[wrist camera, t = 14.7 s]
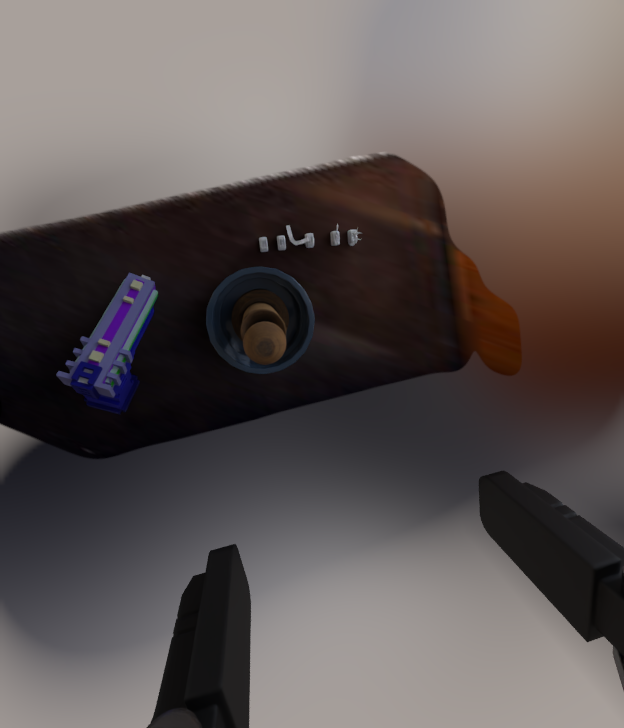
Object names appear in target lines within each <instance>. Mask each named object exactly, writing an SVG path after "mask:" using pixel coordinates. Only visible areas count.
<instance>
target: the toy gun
mask: <svg viewBox="0 0 624 728" xmlns="http://www.w3.org/2000/svg"><path fill="white" fill-rule="evenodd" d="M157 297H158V291H156V289H155V282H153V281H151V279H150V277H147V276H144V275H142V276H141V277H140V276H137V275H134V274H132V273H129V274H128V276H127V278H126V279H124V281H123V282H122V284H121V286H120V287H119V289H118V291H117V292H116V294H115V296H114V297H113V299H112V301H111V302H110V304H109V306H108V307H107V309H106V311H105V312H104V314H103V316H102V318H101V319H100V321H99V323H98V324H97V326H96V328H95V329H94V331H93V333H92V334H91V336H90V338H86V337H83V336H82V337H81V339H80V341H81V343H82V344H83V346H84V348H83V349H82V350H81V349H77V348H75V349H74V351H73V353H74V354H75V356H76V357H77V359H76V361H75V362H73V361H70V360H67V362H66V366H67V367H68V368H69V369H70V371H69V372H70V374H68V373H65V372H61V371H58V373H57V374H56V376H57V377H58V378H59V379H60V380H61V381H62V382H63V383H64V384H65V385H68V386H72V387H73V388H74V390H75V391H76V392H77V393H80V394H83V395H84V396H85V398H84V400H85V401H86V402H87V406H89V407H93V408H97V409H101V410H104V411H108V412H112V413H116V414H119V415H120V414H121V412H122V411H123V412H126V411H127V409H128V406H129V404H130V402H131V400H132V398H133V396H134V394H135V392H136V390H137V387H138V385H139V383H140V382H139V380H137V379H138V378H137V376H135V375H132V374H131V373H130V369H131V363H132V361H133V359H134V354H135V350H136V348H137V346H138V344H139V342H140V340H141V338H142V336H143V334H144V332H145V330H146V328H147V326H148V324H149V322H150V320H151V318H152V316H153V314H154V309H153V308H154V303H155V301H156V299H157Z"/></svg>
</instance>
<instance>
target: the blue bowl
mask: <svg viewBox="0 0 624 728" xmlns="http://www.w3.org/2000/svg"><path fill="white" fill-rule="evenodd" d="M254 289H265V290H268V291H271V292H273V293H275V294H276V295H277V296H278V297H280V298H281V299H282V301H283V302H284V303H285V305H286V307H287V310H288V314H289V324H288V328H287V331H286V349H285V352H284V354H283V355H282V357H281V358H280V359H279V360H278V361H276V362H274V363H272V364H267V365H262V364H258V363H256V362H254V361H252V360H251V359H250V358H249V357H248V356H247V354H246V353H245V351H244V347H243V341H242V340H241V339H240V338H239V337H238V336H237V334H236V333H235V331H234V328H233V325H232V311H233V308H234V305H235V303H236V302H237V300H238V299H239V298H240V297H241V296H242V295H243V294H244V293H246V292H248V291H250V290H254ZM314 323H315V319H314V313H313V307H312V303H311V301H310V299H309V297H308V295H307V293H306V291H305V290H304V288H303V287H302V286H301V285H300V284H299V283H298V282H297V281H296V280H295V279H294V278H293V277H291V276H289V275H287V274H285V273H283V272H281V271H279V270H278V269H273V268H267V267H261V266H257V267H252V268H246V269H242V270H239V271H237V272H235V273H234V274H232V275H230V276H228V277H226V278H225V279H224V280H223V281H222V282H221V284H220V285H219V286H218V287H217V288H216V289H215V290H214V292H213V294H212V297H211V299H210V301H209V304H208V306H207V315H206V327H207V331H208V334H209V338H210V341H211V343H212V345H213V346H214V348H215V349H216V351H217V352H218V354H219V355H220V356H221V357H222V358H223V359H224V360H226V361H227V362H228V363H229V364H230V365H232V366H233V367H235V368H238V369H240V370H243V371H245V372H248V373H257V374H268V373H272V372H277V371H281V370H283V369H284V368H286V367H288V366H290V365H292V364H293V363H295V362H296V361H297V360H298V359H299V358H300V357H301V356H302V354H303V353H304V352H305V351H306V349H307V347H308V345H309V343H310V341H311V339H312V336H313V330H314Z"/></svg>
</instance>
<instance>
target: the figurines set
mask: <svg viewBox="0 0 624 728" xmlns="http://www.w3.org/2000/svg"><path fill="white" fill-rule="evenodd" d="M286 228H287V232H288V236H289V239H290V241H291V242H292V243H293V244H294V245H299V244H303V243H305V244H306V248H313V247H314V237H313V233H307V234H305V238H304V239H302V240H299V241H295V240H294V239H293V236H292V233H291V229H290V225H288V226H286ZM357 229H358V228H357ZM336 230H338V224H337V228H336ZM347 233H348V244H350V245H351V246H353V245H354V244H355V243H357V239H358V238H357V234H358V233H360V232H357V230H349V231H348V232H347ZM330 236H331V245H332V246H337V245H339V244H340V237H339V231H332V232H331V233H330ZM361 239H362V238H361ZM361 239H359V240H361ZM259 244H260V251H261V252H268V244H267V238H266V237H260V238H259ZM277 244H278V250H286V243H285V236H284V235H283V236H277Z"/></svg>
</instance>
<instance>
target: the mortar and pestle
mask: <svg viewBox="0 0 624 728" xmlns="http://www.w3.org/2000/svg"><path fill="white" fill-rule="evenodd" d="M288 324H289V314H288V310H287V307H286V305H285V303H284V302H283V301H282V299H281V298H280V297H278V296H277V295H276V294H275V293H273V292H271V291H268V290H265V289H254V290H250V291H248V292H246V293H244V294H243V295H242V296H241V297H240V298H239V299H238V300H237V302H236V303H235V305H234V308H233V311H232V325H233V328H234V331H235V333H236V334H237V336H238V337H239V338H240V339H241V340H242V341H243V347H244V351H245V353H246V354H247V356H248V357H249V358H250V359H251V360H252V361H254V362H256V363H258V364H262V365H267V364H272V363H274V362H276V361H278V360H279V359H280V358H281V357H282V355H283V354H284V352H285V349H286V331H287V328H288Z"/></svg>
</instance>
